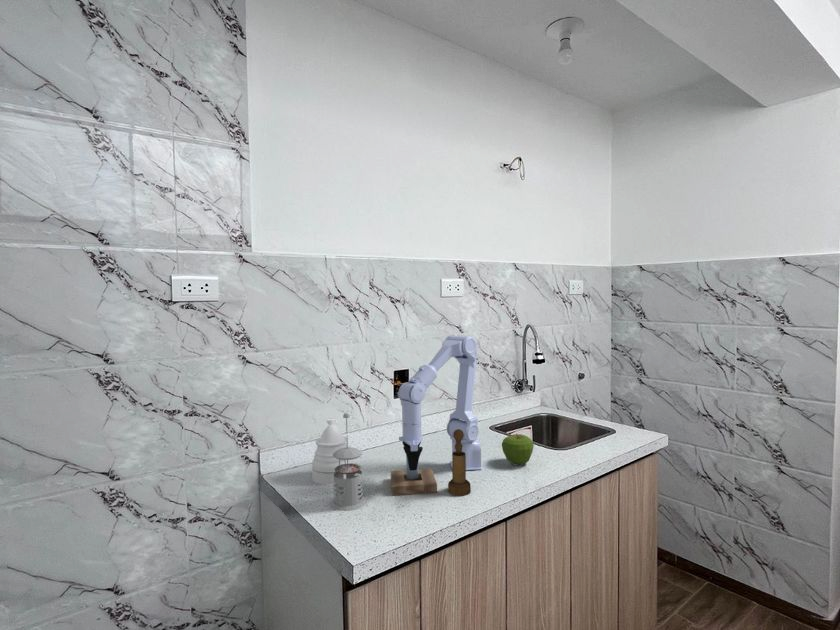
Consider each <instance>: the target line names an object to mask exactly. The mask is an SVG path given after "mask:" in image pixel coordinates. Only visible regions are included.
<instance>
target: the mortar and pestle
mask: <svg viewBox="0 0 840 630" xmlns="http://www.w3.org/2000/svg"><path fill="white" fill-rule="evenodd" d="M453 436H454V438H455V440H456V445H455V449H456V451H455V452H453V453H452V452H451V459H452V460H451V461H452V467H451V469H452V479H451V480H450V481H449V482H448V483H447V485H448V486H447V487H448V488H447V491H448V493H449V494H450V495H453V496H456V497H463V496H467V495H469V494H470V493H471V490H472V488H471V487H472V486H471V483H470V481H468V479H467V476H466V475H467V470H466V454H465V453H464V452H462V447H463V445H461V440H462V439H463V436H464V433H463V431H462V430H460V429H457V430H455V431H454V433H453Z"/></svg>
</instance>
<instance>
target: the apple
mask: <svg viewBox="0 0 840 630" xmlns="http://www.w3.org/2000/svg"><path fill="white" fill-rule="evenodd" d="M534 446H535V445H534V442H533V440H532V438H530V437H529V436H527V435H524V434H512V435H508V436H506V437H504V438H503V440H502V442H501V447H502V448H501V449H502V452H503V454H504V456H505V458H506V460H507V461H508V462H510V463H511V464H512V465H513V466H524V465H525V464H527V463H528V462H529V461H530V459H531V456H532V454H533V451H534Z"/></svg>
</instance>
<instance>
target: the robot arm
mask: <svg viewBox="0 0 840 630" xmlns="http://www.w3.org/2000/svg"><path fill="white" fill-rule="evenodd" d="M441 342H442V343H441V347H440V348H439V350H438V351H437V352H436V354H435V355H434V356H433V358H432V359H431V361H429V363H428V364H423V365H420V366H419V368H418V370H417V371H416V372H415V374H414V375H413V376H412V377H410V379H409V380H408V382H407V381H406V382H404V383H402V384H401V385H400V387H399V389H398V392H397V397H398V399H399V400H400V405H401V412H402V413H401V414H402V417H401V422H402V436H399V437H398V441H399V442H402V445H403V451H404V453H405V454H406V455H407V459H408V464H409V469H410V471H411V470H417V467H418V468H419V460H420V457H421V454H422V451H423V449H424V448H423V446H420V445H421V444H422V441H423V436H422V435H423V433H422V401H424V399H425V396H426V392H428V391H427V390H428V388H429V387H430V386H431V385H432V384H433V382H434V381H436V379H437V376H438V374H437V372H438V371H439V370H441V368H442V367H443V366H444V365H445V364H446V363H448V361H449V360H451V358H454V359H456V361H457V362H458V363H459V374H458V382H457V383H458V384H457V392H456V393H457V395H456V401H455V402H456V405H455V410H454V411H453V412H451V413H450V415H449V419H448V422H447V425H446V433H447V434H448V436H450V440H451V454H452V453H453V452H455V451H456V449H455V445H456V440H455V438H454V436H453V433H454V431H455V430H457V429H460V430H462V431H463V433H464V436H463V439H462V440H461V445H463V447H462V452H464V453H465V454H466V471H475V470H476V471H477V470H482V469H483V467H482V449H481V447H482V446H481V443H480V440H479V439H477V438H478V435H479V425H478V420H479V419H478V418H477V416H476V414H474V413H473V411H472V410H473V404H474V403H473V402H474V392H475V384H476V383H475V381H476V372H477V371H476V370H477V359H478V357H477V355H478V342H477V341H476V339H475V338H474V337H473V336H470V335H468V336H467V335H466V336H465V335H464V336H463V335H453V334H452V335H451V334H450V335H447V336H446V337H445V339H444V340H443V341H441ZM406 455H405V456H406ZM449 465H450V466H451V468H452V460H451V461H449Z"/></svg>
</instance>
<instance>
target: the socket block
mask: <svg viewBox="0 0 840 630" xmlns="http://www.w3.org/2000/svg"><path fill="white" fill-rule="evenodd" d="M418 473H419V477H418V478H417V479H408V478H407V469H403V470H402V469H401V470H391V471H390V485H391V495H392V496H404V495H405V496H406V495H418V494H419V495H421V494H437V493H438V483H437V480H436V478H435V474H434V472H433V469H432V468H425V469H423V468H422V469H418Z"/></svg>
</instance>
